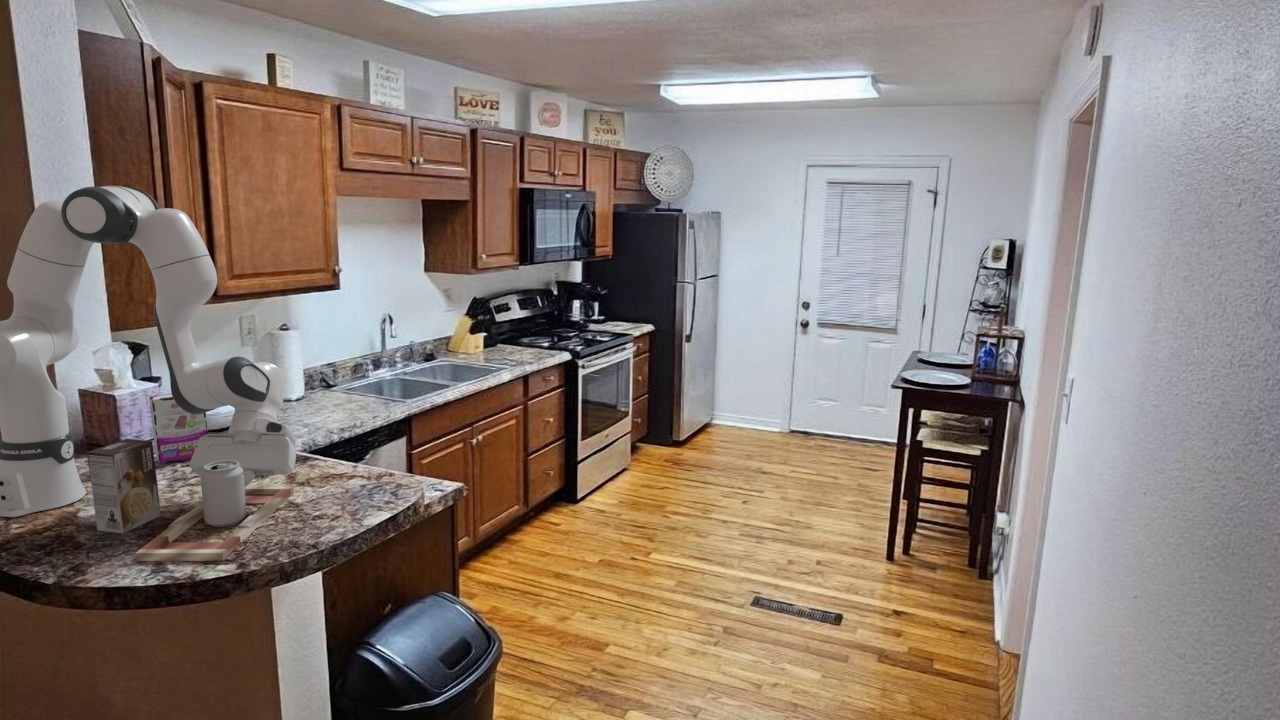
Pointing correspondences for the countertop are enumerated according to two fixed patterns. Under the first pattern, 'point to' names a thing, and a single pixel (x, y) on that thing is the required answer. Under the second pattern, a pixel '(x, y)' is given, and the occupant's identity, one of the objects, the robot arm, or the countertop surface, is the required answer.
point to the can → (223, 493)
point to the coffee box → (124, 485)
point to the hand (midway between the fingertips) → (234, 492)
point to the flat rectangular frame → (212, 551)
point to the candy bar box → (175, 429)
